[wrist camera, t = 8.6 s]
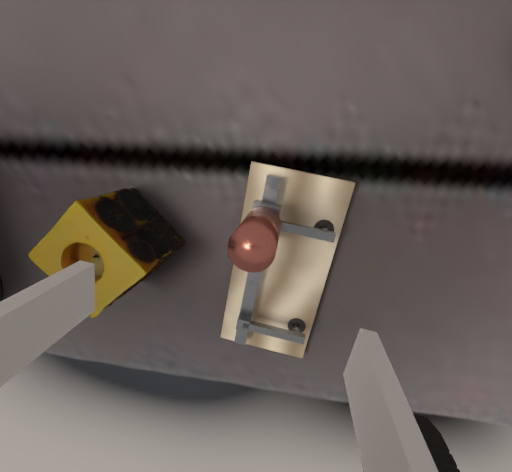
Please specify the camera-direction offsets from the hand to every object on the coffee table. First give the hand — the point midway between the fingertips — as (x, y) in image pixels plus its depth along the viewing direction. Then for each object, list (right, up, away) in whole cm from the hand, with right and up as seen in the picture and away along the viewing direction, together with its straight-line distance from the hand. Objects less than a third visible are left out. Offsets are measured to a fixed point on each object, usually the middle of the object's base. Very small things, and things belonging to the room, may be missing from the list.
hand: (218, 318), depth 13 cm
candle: (-15, +4, +25) cm, 29 cm away
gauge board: (+5, 0, +23) cm, 24 cm away
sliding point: (+6, +6, +20) cm, 21 cm away
